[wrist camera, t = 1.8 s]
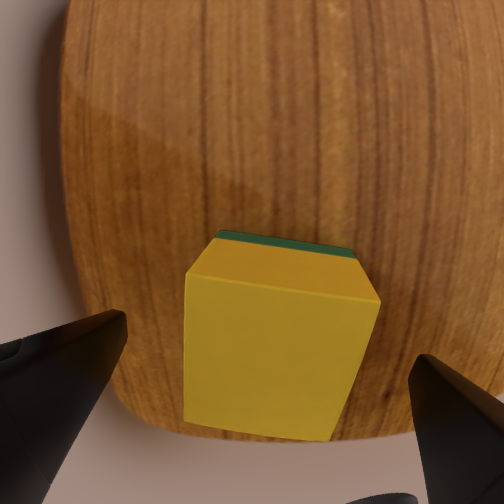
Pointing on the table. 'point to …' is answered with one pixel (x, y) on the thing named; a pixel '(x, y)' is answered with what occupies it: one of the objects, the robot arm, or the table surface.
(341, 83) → the table surface
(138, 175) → the table surface
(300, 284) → the sponge
